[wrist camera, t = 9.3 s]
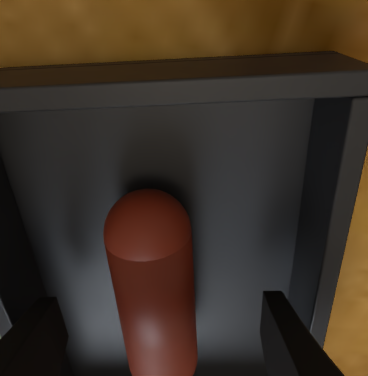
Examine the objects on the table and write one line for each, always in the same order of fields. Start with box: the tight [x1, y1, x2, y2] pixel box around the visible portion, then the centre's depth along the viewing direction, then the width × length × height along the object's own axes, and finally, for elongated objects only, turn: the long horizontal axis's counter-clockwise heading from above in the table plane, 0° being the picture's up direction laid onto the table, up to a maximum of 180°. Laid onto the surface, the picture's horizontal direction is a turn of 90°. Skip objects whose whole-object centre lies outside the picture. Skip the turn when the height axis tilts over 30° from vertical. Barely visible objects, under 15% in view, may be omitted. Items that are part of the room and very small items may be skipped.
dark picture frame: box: [0, 51, 368, 376], centre depth 13 cm, size 16×11×3 cm
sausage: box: [103, 189, 198, 376], centre depth 13 cm, size 9×3×3 cm, turn 3°
